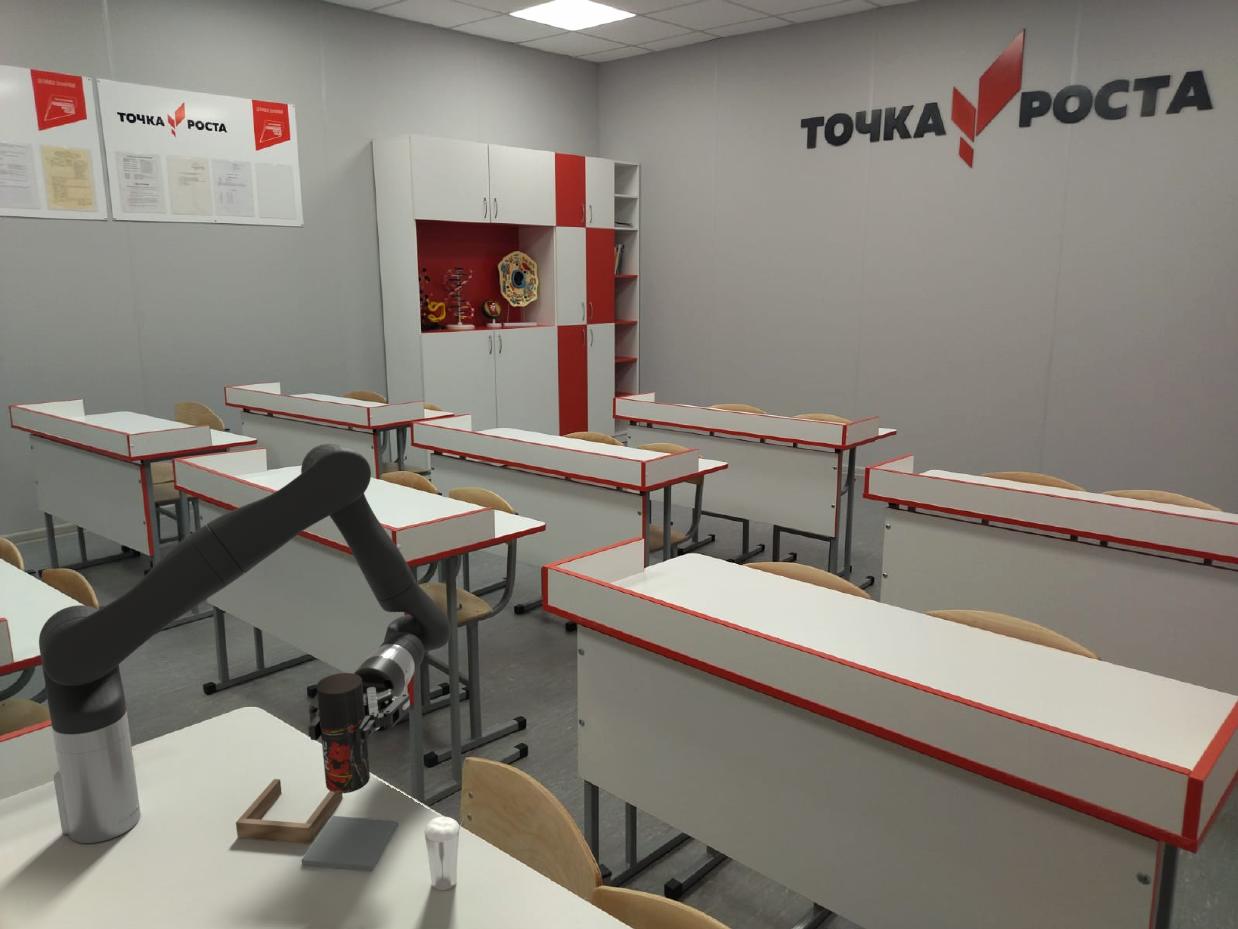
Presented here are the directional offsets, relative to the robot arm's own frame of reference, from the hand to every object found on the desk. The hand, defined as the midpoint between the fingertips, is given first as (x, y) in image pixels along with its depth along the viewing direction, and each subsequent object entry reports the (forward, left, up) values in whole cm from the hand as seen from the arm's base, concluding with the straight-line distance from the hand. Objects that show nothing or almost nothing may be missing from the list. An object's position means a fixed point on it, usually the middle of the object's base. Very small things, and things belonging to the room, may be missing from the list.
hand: (335, 735), depth 119 cm
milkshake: (+16, -4, -19) cm, 25 cm away
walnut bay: (-12, +7, -19) cm, 23 cm away
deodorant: (0, +3, -9) cm, 9 cm away
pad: (0, +2, -19) cm, 19 cm away
